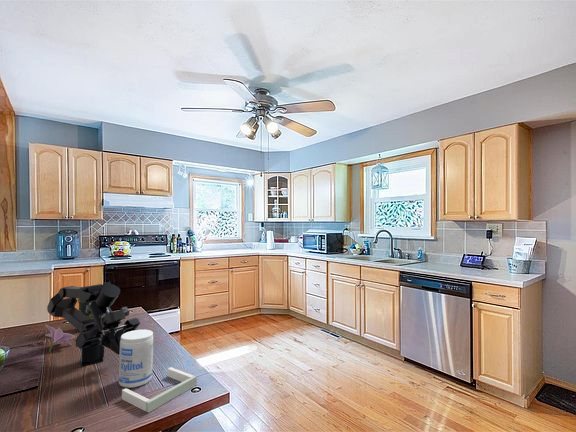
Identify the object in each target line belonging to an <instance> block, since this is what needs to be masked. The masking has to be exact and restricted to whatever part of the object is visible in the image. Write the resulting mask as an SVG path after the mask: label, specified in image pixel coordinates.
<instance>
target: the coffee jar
mask: <svg viewBox="0 0 576 432" xmlns="http://www.w3.org/2000/svg"><path fill="white" fill-rule="evenodd" d="M76 299H77V303H78V310H79V311H80V312H82V313H83V314H84V315H86V316H87V317H88V318H90V319H93V316H92V314H91V313H88V309H89V305H90V304H91V303H92V302H93V301H92V302H87V303H83V302H81V301H79V298H76ZM76 331H79V330H78V329H76ZM79 332H80V331H79Z"/></svg>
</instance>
